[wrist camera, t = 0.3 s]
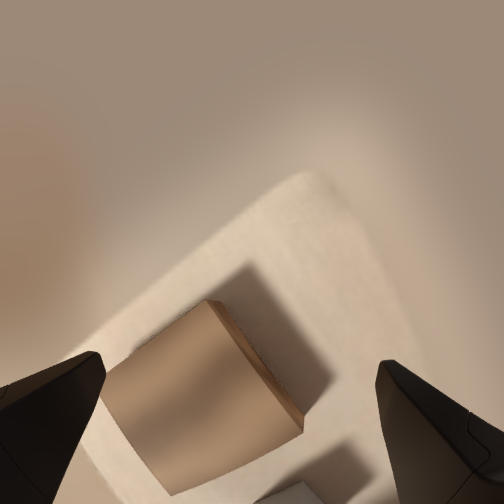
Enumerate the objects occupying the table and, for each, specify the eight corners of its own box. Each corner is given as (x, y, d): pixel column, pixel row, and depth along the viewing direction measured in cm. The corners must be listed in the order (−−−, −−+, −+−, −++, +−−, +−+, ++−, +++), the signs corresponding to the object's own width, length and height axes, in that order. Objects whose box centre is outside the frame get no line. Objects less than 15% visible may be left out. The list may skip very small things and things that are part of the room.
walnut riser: (304, 414, 21) (303, 432, 17) (188, 475, 22) (170, 496, 18) (222, 302, 24) (205, 299, 20) (119, 376, 25) (92, 383, 21)
